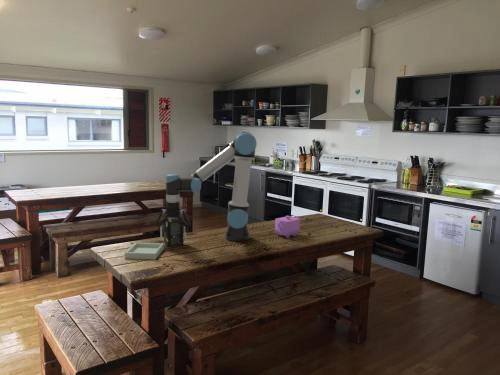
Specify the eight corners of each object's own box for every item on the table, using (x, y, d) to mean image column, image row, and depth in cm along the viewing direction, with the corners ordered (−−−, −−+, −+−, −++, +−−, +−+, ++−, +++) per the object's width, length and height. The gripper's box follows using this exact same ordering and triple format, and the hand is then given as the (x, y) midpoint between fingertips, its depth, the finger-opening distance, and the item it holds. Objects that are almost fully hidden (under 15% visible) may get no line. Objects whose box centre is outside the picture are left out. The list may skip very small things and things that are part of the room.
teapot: (283, 239, 259) (284, 219, 257) (272, 235, 267) (272, 216, 265) (305, 234, 272) (306, 215, 270) (294, 230, 280) (294, 212, 277)
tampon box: (163, 241, 250) (163, 217, 248) (179, 240, 254) (178, 216, 251) (167, 247, 240) (167, 221, 238) (183, 245, 244) (183, 220, 241)
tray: (164, 248, 237) (163, 243, 237) (155, 259, 219) (155, 253, 219) (135, 247, 238) (135, 242, 237) (124, 258, 220) (124, 252, 220)
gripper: (195, 200, 246) (195, 236, 249) (153, 199, 247) (153, 234, 250) (193, 203, 238) (193, 239, 242) (149, 202, 240) (150, 238, 243)
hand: (173, 237), depth 246 cm, fingers open, 13 cm apart
